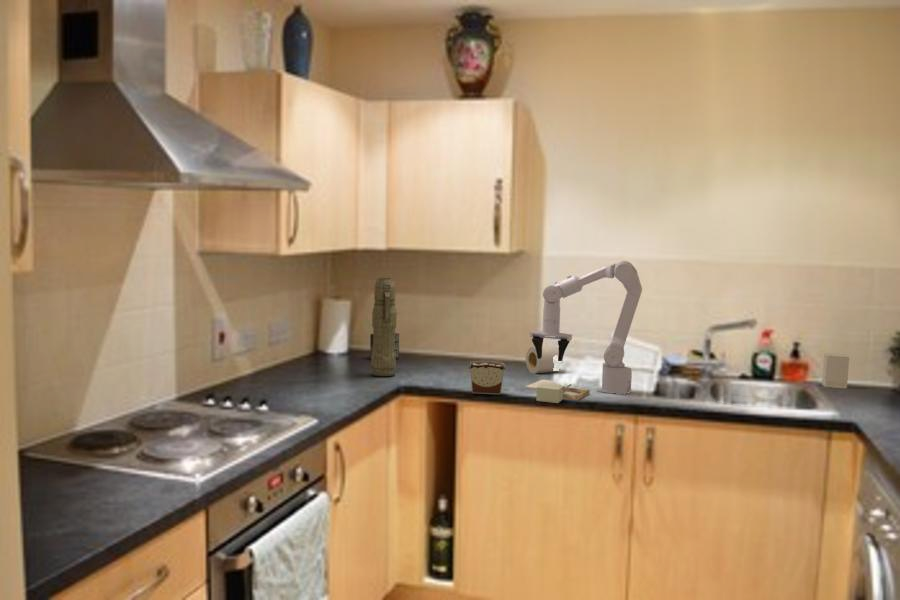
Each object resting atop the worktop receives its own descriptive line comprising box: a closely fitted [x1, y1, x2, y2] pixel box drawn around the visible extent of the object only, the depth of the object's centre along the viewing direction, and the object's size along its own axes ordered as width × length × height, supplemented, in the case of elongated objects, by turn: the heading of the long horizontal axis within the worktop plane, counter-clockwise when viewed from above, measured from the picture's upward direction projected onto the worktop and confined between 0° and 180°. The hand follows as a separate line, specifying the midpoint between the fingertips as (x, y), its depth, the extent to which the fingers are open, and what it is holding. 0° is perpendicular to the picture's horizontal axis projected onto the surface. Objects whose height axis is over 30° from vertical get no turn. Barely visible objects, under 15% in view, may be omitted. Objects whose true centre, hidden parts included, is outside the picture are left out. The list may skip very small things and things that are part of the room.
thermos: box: [370, 277, 398, 377], centre depth 285 cm, size 9×12×35 cm
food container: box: [467, 360, 507, 395], centre depth 259 cm, size 12×6×10 cm, turn 84°
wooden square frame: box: [563, 386, 590, 401], centre depth 257 cm, size 10×11×2 cm
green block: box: [535, 384, 564, 404], centre depth 249 cm, size 4×6×7 cm
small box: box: [369, 332, 400, 359], centre depth 319 cm, size 11×6×10 cm, turn 130°
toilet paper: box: [525, 345, 559, 374], centre depth 298 cm, size 10×10×10 cm
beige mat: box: [525, 379, 565, 391], centre depth 270 cm, size 11×15×1 cm
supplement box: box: [821, 352, 850, 389], centre depth 280 cm, size 7×7×13 cm
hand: (549, 359), depth 270 cm, fingers open, 7 cm apart
